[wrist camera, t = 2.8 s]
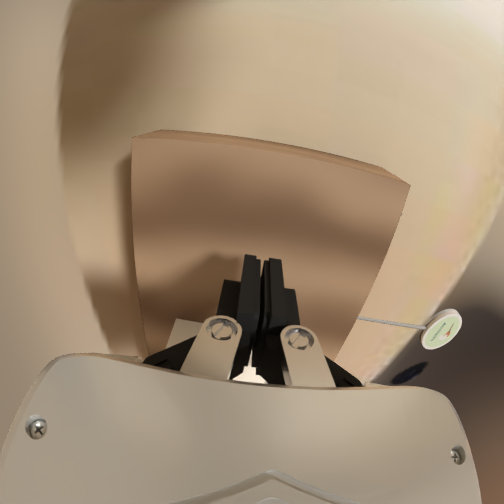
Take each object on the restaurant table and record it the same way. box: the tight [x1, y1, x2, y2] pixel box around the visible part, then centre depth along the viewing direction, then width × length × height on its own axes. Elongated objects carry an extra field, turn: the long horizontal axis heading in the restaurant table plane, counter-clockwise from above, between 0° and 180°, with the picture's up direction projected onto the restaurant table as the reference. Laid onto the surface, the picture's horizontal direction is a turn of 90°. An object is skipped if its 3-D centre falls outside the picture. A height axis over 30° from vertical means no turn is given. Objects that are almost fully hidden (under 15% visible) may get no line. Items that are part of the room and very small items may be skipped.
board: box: [131, 130, 411, 361], centre depth 18 cm, size 20×14×4 cm
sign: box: [357, 309, 462, 349], centre depth 22 cm, size 5×1×15 cm
